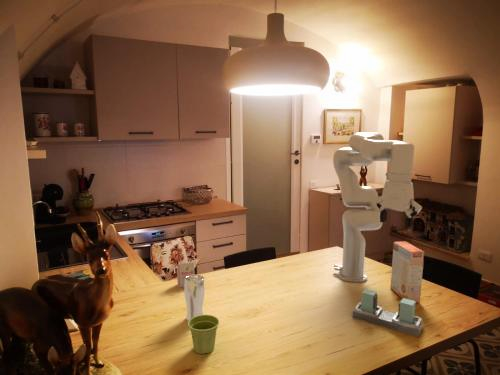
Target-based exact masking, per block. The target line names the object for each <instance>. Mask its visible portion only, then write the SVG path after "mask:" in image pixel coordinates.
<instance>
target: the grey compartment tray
mask: <svg viewBox="0 0 500 375" xmlns="http://www.w3.org/2000/svg"><path fill="white" fill-rule="evenodd" d="M361 302H362V301H359V302H358V304H357V305H356V306H355V307H354V308H353V310H352V316H351V317H352V318H353V319H356V320H359V321H363V322H367V323H369V324H374V325H376V326H380V327H383V328H385V329H386V328H387V329H390V330H393V331H397V332H399V333H404V334H406V335H410V336H413V337H416V338H417V337H418V338H419V337H420V335H421V333H422V330H423V328H424V320H423V318H422V317H419V316H417V315H414V322H413V323H412V324H410V323H407V322H403V321H400V320H399V316H398V311H396V312H391V311H388V310H383V307H382V306H379V305H377V307H376V310H375V312H374V313H371V312H368V311H364V310H361Z"/></svg>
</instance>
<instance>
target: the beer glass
mask: <svg viewBox="0 0 500 375" xmlns="http://www.w3.org/2000/svg"><path fill="white" fill-rule="evenodd" d="M183 289H184V299H185V304H186V309H187V310H186V316H185V319H186V321H187V322H188V321H189V320H190V319H191V318H193V317H195V316H199V315H204V312H203V304H204V298H205V278H204V276H203V275H201V274H195V275H189V276H187V277H185V285H184V287H183Z"/></svg>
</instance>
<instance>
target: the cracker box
mask: <svg viewBox="0 0 500 375" xmlns="http://www.w3.org/2000/svg"><path fill="white" fill-rule="evenodd" d="M424 258H425V251H424V250H422V249H420V248H418V247H417V246H414V245H413V244H411V243H410V242H408V241H394V242H393V248H392V262H391V265H392V266H391V273H390V274H391V275H390V287H389V288H390V290H391V291H393V293H395V294H396V295H397V296H398V297H400V298H401V300H402V299H403V298H405V299H409V300H413V301H416V303H421V295H422V294H421V293H422V281H423V270H424V262H425V261H424ZM416 303H415V304H416Z"/></svg>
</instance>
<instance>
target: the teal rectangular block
mask: <svg viewBox="0 0 500 375" xmlns="http://www.w3.org/2000/svg"><path fill="white" fill-rule="evenodd" d="M378 297H379V296H378V291H377V290H376V291H375V290H373V289H372V290H371V289H368V288H365V289H364V290H363V291H362V292H361V301H360V302H361V310H364V311H368V312H371V313H374V312H375V310H376V307H377V306H378V299H379V298H378Z"/></svg>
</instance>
